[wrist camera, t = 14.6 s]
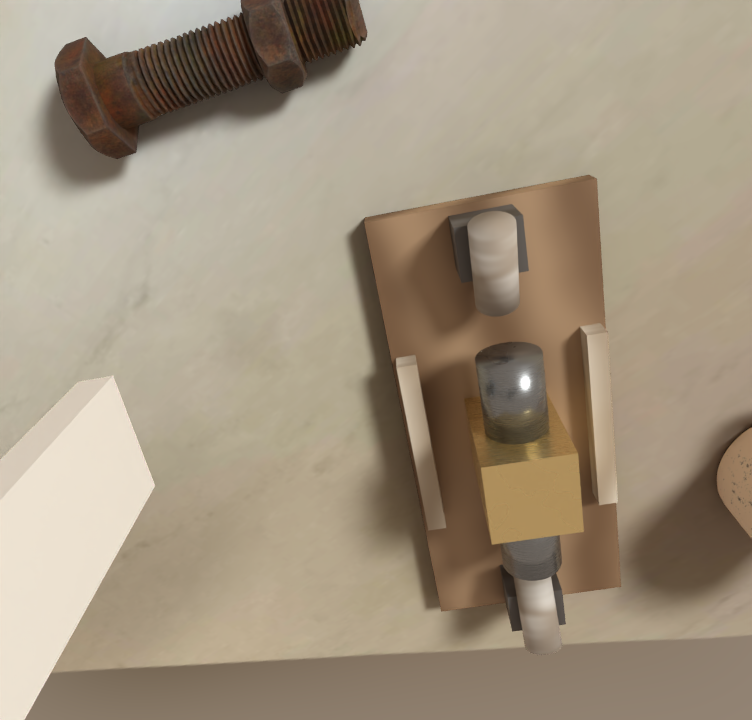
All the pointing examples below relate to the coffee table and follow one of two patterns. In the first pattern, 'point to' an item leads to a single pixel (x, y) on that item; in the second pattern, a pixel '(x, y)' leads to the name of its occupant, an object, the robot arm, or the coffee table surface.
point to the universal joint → (523, 461)
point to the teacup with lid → (738, 480)
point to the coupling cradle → (459, 378)
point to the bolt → (199, 65)
